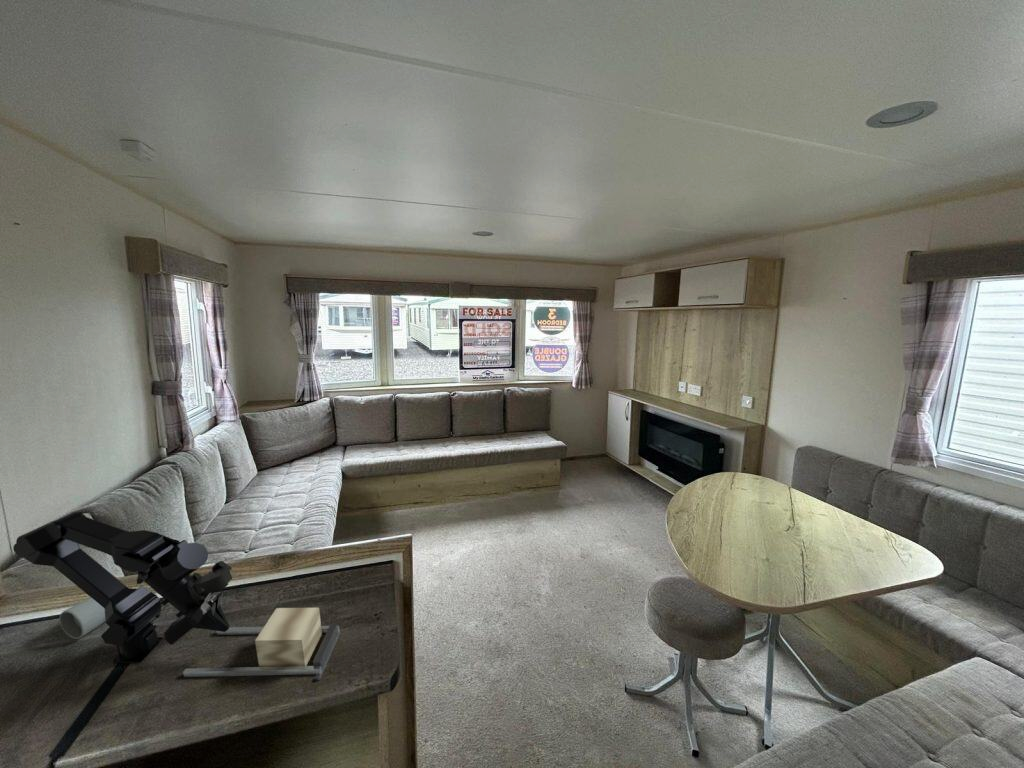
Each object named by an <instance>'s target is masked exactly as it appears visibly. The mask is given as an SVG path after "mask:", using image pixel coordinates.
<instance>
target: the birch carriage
mask: <svg viewBox="0 0 1024 768" xmlns="http://www.w3.org/2000/svg"><path fill="white" fill-rule="evenodd" d="M321 621H322V620H321V612H320V607H276V608H275V610H274V611H273V612H272V614H271V616H270V617H269V618H268V620H267V622H266V623H265V625H263V627H264V628H263V629H262V631H261V632H260V634H257V635H258V636H257V637H256V639H254V644H255V649H256V656H257V662H258V667H287V666H308V664H309V662H310V661H311V658H312V655H313V654H314V652H315V650H316V648H317V645H318V643H319V641H320V640H321V638H322V635H323V633H322V630H321V626H322V623H321Z"/></svg>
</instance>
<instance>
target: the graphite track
mask: <svg viewBox="0 0 1024 768" xmlns="http://www.w3.org/2000/svg"><path fill="white" fill-rule="evenodd" d="M263 628H264V626H238V627H237V626H233V627H231V626H230V627H229V629H228V630H227V631H226V632H221V631H215V632H216V635H217V636H219V635H223V636H225V635H228V636H229V635H230V636H231V635H259V634H260V632H261V631H262V629H263ZM321 630H322V634H325V635H324V637H323V639H322V641H321V643H320V645H319V648H318V650H317V651H316V654H315V656H314V659H313V660H312V663H313V665H307V666H287V667H259V666H253V667H252V666H250V667H249V666H247V667H243V666H241V667H239V666H238V667H203V668H202V667H197V668H196V667H195V668H185V669H184V670H183V671H182V674H183V677H184V678H189V677H190V678H192V677H198V678H199V677H236V676H238V677H239V676H241V677H243V676H284V675H285V676H286V675H287V676H288V675H291V676H292V675H296V676H297V675H314V676H313V679H312V681H320V680H321V678H322V676H323V673H324V671H325V669H326V667H327V665H328V662H329V660H330V658H331V655H332V653H333V650H334V648H335V646H336V644H337V641H338V640H339V639H338V638H339V637H340V635H341V630H340V625H338V623H330V624H329V625H321Z"/></svg>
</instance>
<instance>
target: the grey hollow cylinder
mask: <svg viewBox="0 0 1024 768" xmlns="http://www.w3.org/2000/svg"><path fill="white" fill-rule="evenodd" d="M104 623H106V622H105V609H104V608H103V607H102V606H101V605H100V604H99V603H97V602H96V601H95V600H94V599H93V598H91V597H90V596H89V597H88V598H86V599H85V600H82V601H80V602H79V603H77V604H75V605H73V606H71V607H69V608H67V609H65V610H63V611H62V612H61V613H60V615H59V624H60V627H61V628H62V630H63V632H64V633H65V634H66V635H67V637H69V638H72V639H75V640H79V639H81V638H83V637H85V636H86V635H88V633H91V632H93V630H95V629H97V628H98V627H99V626H101V625H102V624H104Z"/></svg>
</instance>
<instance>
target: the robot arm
mask: <svg viewBox="0 0 1024 768" xmlns="http://www.w3.org/2000/svg"><path fill="white" fill-rule="evenodd" d="M15 542H16V543H14V545H13V547H12V549H13V551H14V553H15V554H16V556H18V557H20V558H23V559H25V560H26V561H28V562H30V563H31V564H32V565H37V566H46V567H53V568H54V569H56V570H57V571H58V572H60V573H61V575H63V576H64V577H65V578H67V579H68V580H69V581H70V582H72V583H73V584H74V585H75V586H76V587H78V588H79V589H81V591H82V592H84V593H85V594H86V595H88V596H89V598H90V597H91V598H93V599H94V600H95V601H96V602H97V603H99V604H100V605H101V606H102V607H103V608H104V609H105V622H104V623H105V624H106V625H107V626H108V628H107V629H106V630H105V631H104V632H103V633H102V634H101V636H100V637H101V639H102V640H103V642H104V644H107V645H113V646H116V651H117V654H118V655H117V656H116V657H114V659H112V664H140V663H142V662H143V661H144V660H145V659H146V658H147V656H149V654H150V653H151V652H153V650H154V649H155V648H156V647H157V646H158V645H159V643H161V641H162V640H163V641H164V642H166V643H167V644H168V645H169V646H173V645H174V644H175V643H177V641H179V640H180V639H181V638H182V637H183V636H185V635H186V634H187V633H189V632H190V631H191V630H192V629H200V630H209V631H215V632H216V631H221V632H226V631H227V630H228V629H229V627H231V626H230V624H229V622H228V620H227V618H226V615H225V613H224V611H223V608H222V606H221V600H222V596H223V592H220V593H218V594H217V595H216V594H214V592H216V591H220V590H223V589H225V588H226V587H228V585H229V583H230V581H231V580H232V579H233V576H232V573H231V571H232V566H230V565H229V564H228V563H226V562H224V561H223V560H221V561H218V562H216V563H214V565H213V566H212V568H211V570H209V571H208V572H207V573H206V574H204V575H201V574H200V573H199V572H196V570H198V569H199V568H201V567H203V566H204V565H205V564H206V563H207V560H208V558H209V552H208V550H207V547H206V546H205V545H202V544H201V543H198V542H188V541H187V540H186V539H182V541H180V540H179V539H174V538H171V537H169V536H165V535H163V534H161V533H159V532H156V531H150V530H144V529H142V530H135V531H132V530H131V531H129V530H124V529H121V528H119V527H116V526H113V525H110V524H108V523H105V522H103V521H98V520H95V519H93V518H90V517H87V516H86V515H85V513H84V512H81V511H76V512H71V513H69V514H67V515H66V514H65V515H64V516H62V517H60V518H58V519H55V520H52V521H50V522H48V523H46V524H43V525H41V526H39V527H37V528H35V529H32V530H31V531H28V532H26V533H23V534H21V535H19V536H18V537H17V538H16V541H15ZM80 545H81V546H84V547H86V548H90V549H93V550H95V551H98V552H101V553H104V554H107V555H109V556H111V557H112V560H113V564H114V565H115V566H118V567H119V568H121V569H122V570H124V571H127V572H130V573H131V572H132V573H136V572H137V578H136V584H137V585H141V584H142V583H143V582H144V583H145V584H146V585H148V586H149V587H150V588H151V589H152V590H153V591H154V592H156V593H158V595H160V596H161V597H162V598H163V599H162V600H161V598H160V597H159V596H158V595H157V594H155V593H153V592H152V591H151V590H150V589H149V588H148V586H144V585H141V586H139V587H138V588H132V587H131V588H130V587H128V586H127V585H125V584H124V583H123V582H122V581H120V579H119V578H117V577H116V576H115V575H114V574H112V573H111V572H109V570H107V569H106V568H105V567H104V566H102V565H101V564H100V563H99V562H98V561H96V560H95V559H94V558H93V557H92V556H91V555H89V554H88V553H87V552H86V551H85V550H83V549H82V548H81V547H80ZM167 604H170V605H172V607H174V608H175V609H176V610H178V611H177V613H176V614H175V617H177V619H175V620H174V621H173V622H172V623H171V624H170V626H169V627H167V629H166V630H165V632H164V634H163V636H158V634H157V633H158V632H157V630H156V629H155V626H154V623H153V622H154V621H155V620H156V619H158V618H159V617H160V616H161V612H162V606H166V605H167Z"/></svg>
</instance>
